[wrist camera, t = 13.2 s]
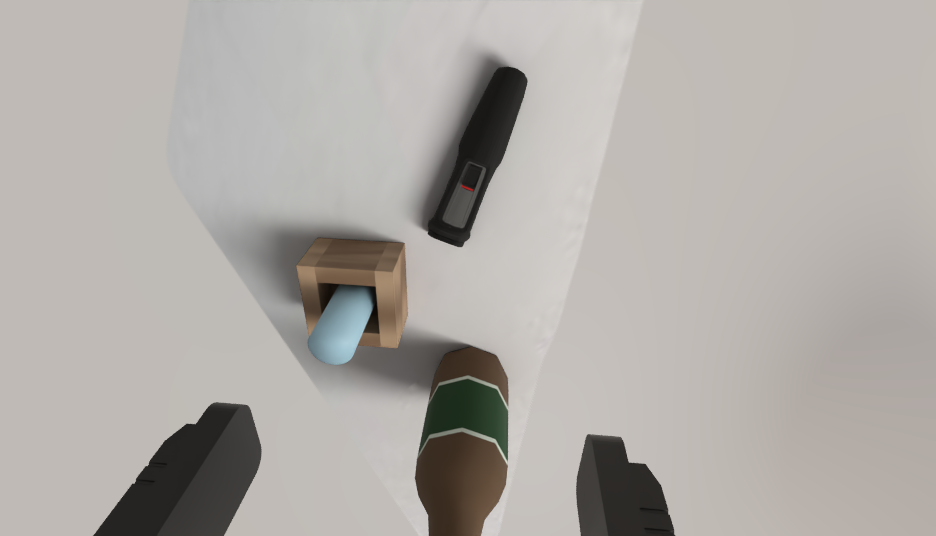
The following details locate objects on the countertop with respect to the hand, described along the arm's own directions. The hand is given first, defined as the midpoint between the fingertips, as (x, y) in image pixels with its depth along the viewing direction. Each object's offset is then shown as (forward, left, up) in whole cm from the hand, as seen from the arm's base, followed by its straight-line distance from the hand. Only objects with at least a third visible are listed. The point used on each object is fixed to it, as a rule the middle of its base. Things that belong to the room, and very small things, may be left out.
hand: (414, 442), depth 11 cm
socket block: (+15, -10, -30) cm, 35 cm away
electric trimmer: (+3, -1, -31) cm, 31 cm away
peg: (+15, -10, -30) cm, 35 cm away
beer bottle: (+26, 0, -30) cm, 40 cm away
